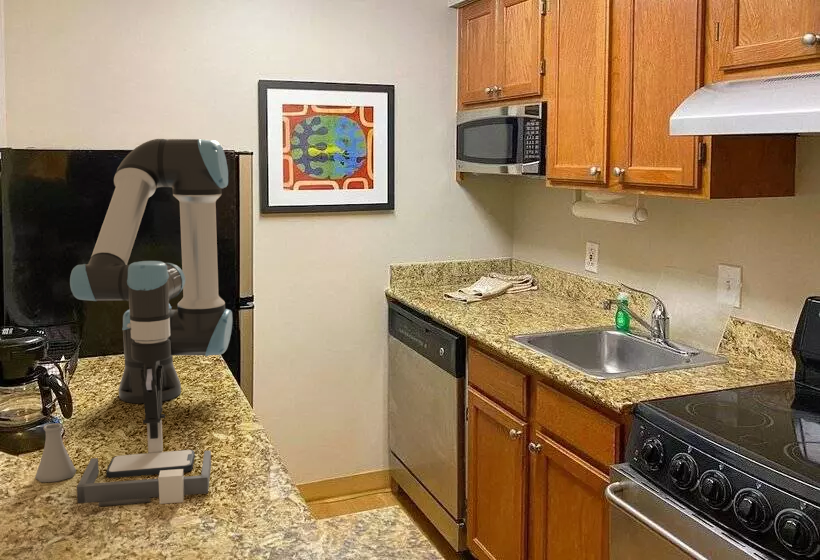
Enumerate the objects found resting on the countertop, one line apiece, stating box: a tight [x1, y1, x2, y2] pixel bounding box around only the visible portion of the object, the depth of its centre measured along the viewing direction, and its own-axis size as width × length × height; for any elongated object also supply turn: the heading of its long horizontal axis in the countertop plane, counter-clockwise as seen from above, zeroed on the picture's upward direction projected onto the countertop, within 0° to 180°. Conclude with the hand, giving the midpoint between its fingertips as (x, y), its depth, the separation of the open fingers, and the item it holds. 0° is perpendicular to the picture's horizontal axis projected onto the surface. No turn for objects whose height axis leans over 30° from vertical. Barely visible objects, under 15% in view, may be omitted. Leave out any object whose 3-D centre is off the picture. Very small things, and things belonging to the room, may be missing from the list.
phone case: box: [105, 449, 196, 479], centre depth 152 cm, size 9×2×16 cm
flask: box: [34, 422, 77, 483], centre depth 147 cm, size 7×7×10 cm
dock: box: [76, 450, 212, 507], centre depth 143 cm, size 16×22×5 cm
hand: (155, 451), depth 157 cm, fingers closed
